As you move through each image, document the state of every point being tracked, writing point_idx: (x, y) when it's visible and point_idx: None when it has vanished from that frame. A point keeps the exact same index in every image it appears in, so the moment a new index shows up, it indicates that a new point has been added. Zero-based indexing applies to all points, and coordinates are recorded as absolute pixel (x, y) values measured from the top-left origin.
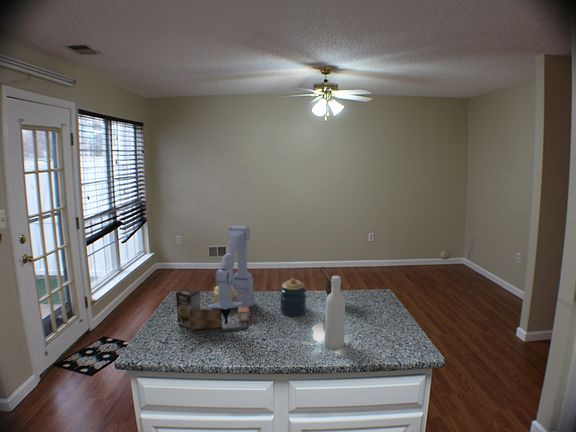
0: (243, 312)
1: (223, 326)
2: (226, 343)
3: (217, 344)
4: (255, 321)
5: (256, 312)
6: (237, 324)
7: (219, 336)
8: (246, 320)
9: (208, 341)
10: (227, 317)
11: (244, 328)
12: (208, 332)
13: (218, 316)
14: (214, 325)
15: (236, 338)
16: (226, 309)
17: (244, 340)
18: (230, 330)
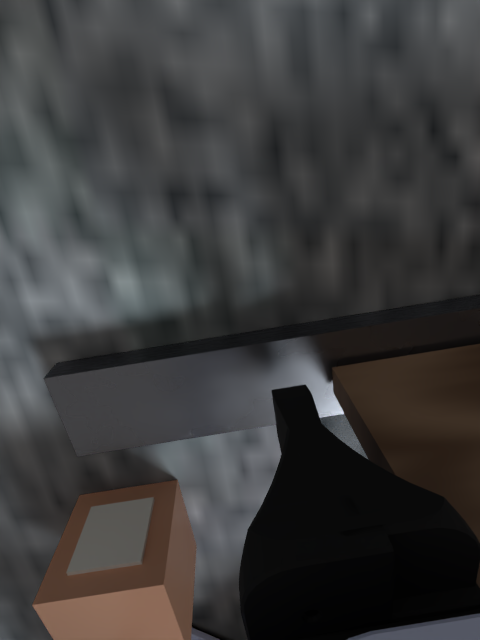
0: (103, 583)
1: (315, 378)
2: (238, 28)
3: (358, 5)
4: (12, 486)
5: None
6: (165, 416)
7: (342, 216)
8: (103, 495)
9: (471, 99)
10: (286, 444)
11: (80, 362)
12: (462, 298)
13: (443, 460)
14: (428, 365)
15: (128, 160)
16: (347, 620)
17: (5, 102)
18: (232, 335)
